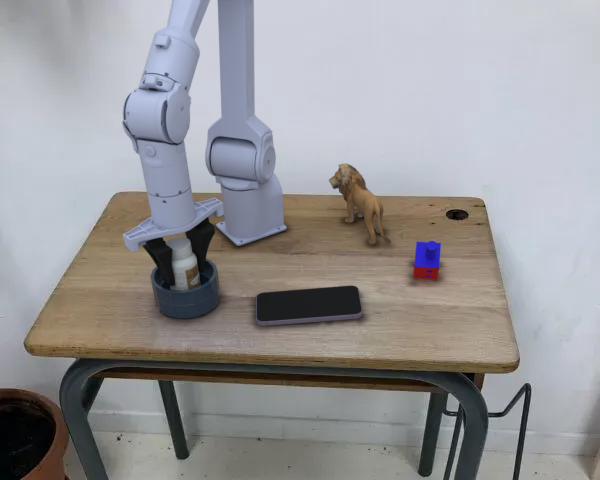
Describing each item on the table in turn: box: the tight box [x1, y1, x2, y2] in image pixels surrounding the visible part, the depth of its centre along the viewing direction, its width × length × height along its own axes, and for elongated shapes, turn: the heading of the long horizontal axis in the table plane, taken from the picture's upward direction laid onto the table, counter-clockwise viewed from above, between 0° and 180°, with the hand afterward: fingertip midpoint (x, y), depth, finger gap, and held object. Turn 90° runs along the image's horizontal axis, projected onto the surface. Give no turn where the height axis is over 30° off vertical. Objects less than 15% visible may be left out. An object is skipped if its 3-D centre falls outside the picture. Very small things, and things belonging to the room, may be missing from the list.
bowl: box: [149, 257, 222, 319], centre depth 100 cm, size 9×9×5 cm
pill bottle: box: [166, 236, 201, 291], centre depth 97 cm, size 4×4×8 cm
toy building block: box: [412, 240, 442, 281], centre depth 102 cm, size 4×4×8 cm
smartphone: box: [255, 284, 363, 327], centre depth 99 cm, size 7×1×15 cm
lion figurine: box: [328, 162, 392, 246], centre depth 112 cm, size 15×5×9 cm, turn 33°
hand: (184, 275), depth 98 cm, fingers closed on pill bottle, 4 cm apart
